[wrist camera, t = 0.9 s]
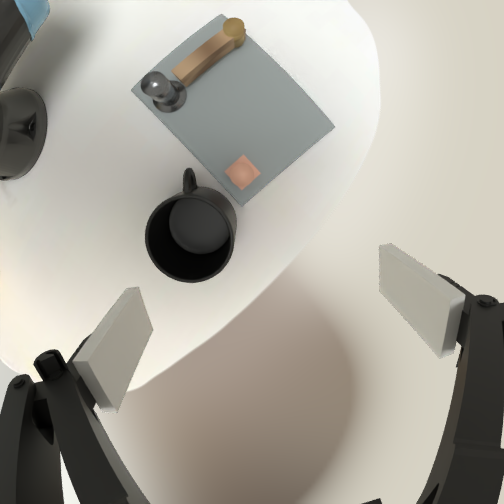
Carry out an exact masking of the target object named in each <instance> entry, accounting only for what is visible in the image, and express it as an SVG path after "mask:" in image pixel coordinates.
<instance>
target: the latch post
mask: <svg viewBox="0 0 504 504" xmlns="http://www.w3.org/2000/svg"><path fill="white" fill-rule="evenodd" d="M224 172H225V173H226V174H227V175H228V176H229V177H230V179H231V181H232V182H233V183H234V184H235V185H236V186H238V187H239V188H240V189H241V190H243V189H244V188H245V187H246V186H247V185H249V184H250V183H251V182H252V181H253V180H254V179H255V178H256V177H257V176H258V175H260V174H261V173H260V172H259V171H258V170H257V168H256V167H255V166H254V165H253V164H252V163H251V162H250V161H249V160H248V159H247V158H246V156H245V155H244V154H243V155H242V156H241V157H240V158H239V159H238V160H237V161H235V162H234V163H233V164H232V165H231V166H230V167H229V168H228V169H227V170H225V171H224Z"/></svg>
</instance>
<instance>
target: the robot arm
mask: <svg viewBox="0 0 504 504" xmlns="http://www.w3.org/2000/svg"><path fill="white" fill-rule="evenodd" d="M49 11H50V5H49V2H48V0H0V90H1V88H2V87H3V85H4V83H5V81H6V79H7V78H8V76H9V74H10V73H11V71H12V69H13V68H14V66H15V64H16V63H17V61H18V60H19V58H20V56H21V55H22V53H23V52H24V50H25V49H26V47H27V46H28V44H29V43H30V42H31V41H32V40H33V39H34V37H35V34H36V32H37V31H38V29H39V28H40V26H41V25H42V24H43V22H44V21H45V19H46V18H47V16H48V14H49ZM46 129H47V115H46V109H45V105H44V103H43V100H42V99H41V97H40V96H39V95H38V94H37V93H36V92H35V91H33V90H30V89H26V88H13V89H10V90H7V91H3V92H0V180H3V181H7V180H12V179H17V178H20V177H22V176H23V175H25V174H26V173H27V172H28V171H29V170H30V169H31V168H32V167H33V165H34V164H35V162H36V161H37V159H38V157H39V155H40V153H41V150H42V147H43V144H44V141H45V136H46ZM379 265H380V266H379V268H380V270H379V272H380V275H379V280H380V281H379V285H380V286H379V291H380V292H381V294H382V295H383V296H384V297H385V298H386V299H387V300H388V301H389V302H390V303H391V304H392V305H393V306H394V308H395V309H396V310H397V311H398V312H399V313H400V314H401V315H402V316H403V317H404V318H405V320H406V321H407V322H408V323H409V324H410V325H411V326H412V328H413V329H414V330H415V331H416V332H417V333H418V334H419V335H420V337H421V338H422V339H423V340H424V341H425V342H426V343H427V345H428V346H429V347H430V348H431V349H432V351H433V352H434V353H435V354H436V355H437V356H438V358H439V359H441V358H443V357H446V356H448V355H451V354H453V353H454V350H455V346H456V341H457V342H458V343H459V344H460V345H461V350H460V354H459V358H458V361H457V365H456V367H458V369H457V374H456V380H455V386H454V391H453V396H452V400H451V405H450V410H449V413H448V417H447V421H446V425H445V429H444V433H443V436H442V440H441V443H440V446H439V449H438V452H437V456H436V459H435V461H434V464H433V467H432V470H431V473H430V475H429V478H428V481H427V483H426V486H425V488H424V490H423V492H422V494H421V496H420V498H419V499H418V501H417V503H416V504H497V503H498V499H499V495H500V490H501V486H502V481H503V476H504V449H502V448H501V446H500V445H501V436H502V427H503V416H504V303H499V302H498V300H497V299H495V298H494V297H492V296H489V295H477V296H474V295H473V294H471V293H470V292H468V291H467V290H466V289H464V288H463V287H462V286H460V285H459V284H457V283H455V281H453V280H452V279H450V278H449V277H446V276H444V275H441V274H436V273H434V272H433V271H432V270H430V269H429V268H427V267H426V266H424V265H423V264H422V263H420V262H418V261H417V260H416V259H414V258H413V257H411V256H410V255H408V254H406V253H405V252H404V251H402V250H401V249H399V248H398V247H396V246H394V245H393V244H385V245H380V246H379ZM152 331H153V327H152V325H151V322H150V319H149V316H148V314H147V311H146V308H145V305H144V302H143V299H142V296H141V293H140V290H139V287H134V288H127V289H126V290H125V291H124V292H123V294H122V295H121V296H120V297H119V299H118V300H117V301H116V303H115V304H114V305H113V306H112V308H111V309H110V310H109V312H108V313H107V314H106V316H105V317H104V318H103V320H102V321H101V322H100V324H99V325H98V326H97V328H96V329H95V330H94V332H93V333H92V334H90V335H89V336H88V337H86V338H85V339H84V340H83V341H82V343H81V344H80V345H79V347H78V348H77V350H76V351H75V352H74V354H73V355H72V356H71V358H70V359H69V361H68V362H67V363H65V361H64V359H63V357H62V355H61V353H60V352H59V351H58V350H55V349H54V350H48V351H45V352H44V353H42V354H40V355H39V356H38V357H37V358H36V359H35V361H34V366H35V368H36V370H37V371H38V373H39V375H40V376H41V378H42V380H43V381H42V382H37V383H34V382H33V381H32V379H31V378H30V376H29V375H27V374H23V375H19V376H16V377H15V378H14V379H12V381H11V382H10V384H9V385H8V388H7V391H6V395H5V399H4V402H3V406H2V410H1V414H0V504H64V499H63V490H62V479H61V462H60V451H61V454H62V457H63V460H64V463H65V466H66V469H67V471H68V475H69V477H70V480H71V482H72V485H73V487H74V490H75V492H76V495H77V497H78V499H79V502H80V504H150V503H149V501H148V500H147V499H146V497H145V496H144V494H143V493H142V492H141V490H140V488H139V487H138V485H137V484H136V483H135V481H134V479H133V478H132V476H131V475H130V473H129V472H128V470H127V468H126V467H125V465H124V464H123V462H122V461H121V459H120V457H119V455H118V454H117V452H116V450H115V448H114V446H113V445H112V443H111V441H110V439H109V437H108V435H107V433H106V432H105V430H104V428H103V426H102V424H101V422H100V420H99V418H98V416H97V414H96V412H95V411H94V409H93V408H94V406H95V403H97V404H98V406H99V408H100V409H101V411H102V412H109V413H118V410H119V407H120V405H121V403H122V400H123V398H124V395H125V393H126V391H127V388H128V386H129V384H130V381H131V379H132V377H133V374H134V372H135V370H136V367H137V365H138V363H139V360H140V358H141V356H142V354H143V351H144V349H145V347H146V345H147V342H148V340H149V338H150V336H151V334H152ZM363 504H382V502H381V500H380V498H379V499H376V500H372V501H369V502H366V503H363Z"/></svg>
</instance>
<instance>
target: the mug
mask: <svg viewBox="0 0 504 504" xmlns="http://www.w3.org/2000/svg"><path fill="white" fill-rule="evenodd" d="M235 233H236V215H235V212H234V209H233V207H232V205H231V203H230V202H229V201H228V199H227V198H226V197H225V196H223V195H222V194H221V193H219V192H218V191H216V190H213V189H211V188H206V187H197V185H196V179H195V174H194V172H193V170H192V168H187V169H186V170H185V171H184V175H183V191H182V192H180V193H178V194H176V195H174V196H172V197H171V198H169V199H167V200H165V201H164V202H162V203H161V204H160V205H158V206H157V208H156V209H155V210H154V211H153V213H152V214H151V216H150V218H149V220H148V222H147V226H146V230H145V244H146V248H147V251H148V254H149V256H150V258H151V260H152V262H153V263H154V264H155V266H156V267H157V268H158V269H159V270H160V271H161V272H162V273H164V274H165V275H167V276H168V277H170V278H172V279H174V280H177V281H180V282H186V283H196V282H202V281H205V280H208V279H210V278H212V277H214V276H216V275H217V274H218V273H220V272H221V271H222V270H223V269H224V267H225V266H226V265H227V264H228V262H229V260H230V258H231V255H232V252H233V248H234V241H235Z"/></svg>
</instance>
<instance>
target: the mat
mask: <svg viewBox="0 0 504 504" xmlns="http://www.w3.org/2000/svg"><path fill="white" fill-rule="evenodd" d="M227 19H228V18H226V17H225V16H224V15H223V14H220V15H219V16H217V17H216V18H215V19H213V20H212V21H210V22H209V23H208V24H206V25H205V26H204V27H202V28H201V29H200V30H198V31H197V32H196V33H194V34H193V35H192V36H190V37H189V38H188V39H187V40H185V41H184V42H183V43H182V44H181V45H179V46H178V47H177V48H176V49H175V50H173V51H172V52H171V53H170V54H169V55H167V56H166V57H165V58H164V59H163V60H162V61H161V62H160V63H158V64H157V65H156V66H155V67H154V68H153V69H152V70H151V71H150V72H152V71H158V72H161V73H162V74H163V75H164V76H165V77H166V78H167V79H168V80H175V81H178V82H180V81H179V80H178V79H177V78H176V76H175V75H174V74H173V73H172V72H171V70H172V69H173V68H175V67H176V66H177V65H178V64H179V63H180V62H181V61H183V60H184V59H185V58H186V57H187V56H189V55H190V54H191V53H192V52H193V51H195V50H196V49H197V48H198V47H200V46H201V45H202V44H204V43H205V42H206V41H207V40H209V39H210V38H211V37H213V36H214V35H215V34H217V33H218V32H219V31H221V30H222V29H223V23H224V22H225V21H226V20H227ZM142 79H143V78H142ZM142 79H141V80H140V81H139V82H138V83H137V84H136V85H135V86H134V87H133V88H132V89H131V91H132V92H133V93H134V94H135V95H136V96H137V97H138V98H139V99H140V100H141V101H142V102H143V103H144V104H145V105H146V106H147V107H148V108H149V109H150V110H151V111H152V112H153V113H154V114H155V115H156V116H157V117H158V119H159V120H160V121H161V122H162V123H163V124H164V125H165V126H166V127H167V128H168V129H169V130H170V131H171V132H172V133H173V134H174V135H175V136H176V137H177V138H178V139H179V140H180V141H181V142H182V143H183V144H184V146H185V147H186V148H187V149H188V150H189V151H190V152H191V153H192V154H193V155H194V156H195V157H196V158H197V159H198V160H199V161H200V162H201V163H202V164H203V166H204V167H205V168H206V169H207V170H208V171H209V172H210V173H211V174H212V175H213V176H214V177H215V178H216V179H217V180H218V182H219V183H220V184H221V185H222V186H223V187H224V188H225V189H226V190H227V191H228V192H229V193H230V194H231V195H232V197H233V198H234V199H235V200H236V201H237V202H238V203H239V204H240V205H241V206H243V205H244V204H246V203H247V202H248V201H249V200H250V199H251V198H252V197H254V196H255V195H256V194H257V193H258V192H259V191H260V190H261V189H263V188H264V187H265V186H266V185H267V184H268V183H269V182H271V181H272V180H273V179H274V178H275V177H276V176H278V175H279V174H280V173H281V172H282V171H283V170H285V169H286V168H287V167H288V166H289V165H290V164H292V163H293V162H294V161H295V160H296V159H297V158H299V157H300V156H301V155H302V154H303V153H304V152H306V151H307V150H308V149H309V148H310V147H312V146H313V145H314V144H315V143H316V142H318V141H319V140H320V139H321V138H322V137H324V136H325V135H326V134H327V133H328V132H330V131H331V130H332V129H333V128H335V126H334V125H333V123H332V122H331V121H330V120H329V119H328V117H327V116H326V115H325V114H324V113H323V112H322V110H321V109H320V108H319V107H318V106H317V105H316V104H315V103H314V101H313V100H312V99H311V98H310V97H309V96H308V95H307V94H306V93H305V91H304V90H303V89H302V88H301V87H300V86H299V85H298V84H297V83H296V82H295V81H294V80H293V79H292V78H291V77H290V76H289V75H288V74H287V73H286V72H285V71H284V70H283V69H282V68H281V67H280V66H279V65H278V64H277V63H276V62H275V61H274V60H273V59H272V58H271V57H270V56H269V55H268V54H267V53H266V52H265V51H264V50H263V49H262V48H261V47H260V46H259V45H257V44H256V43H255V42H254V41H253V40H252V39H251V38H250V37H249V36H248V35H246V40H245V41H244V43H243V44H242V45H241V46H240V47H237V48H234V49H233V50H231V51H230V52H229V53H227V54H226V55H225V56H223V57H222V58H221V59H220V60H218V61H217V62H216V63H214V64H213V65H212V66H211V67H210V68H208V69H207V70H206V71H205V72H203V73H202V74H201V75H200V76H199V77H198V78H196V79H195V80H194V81H193V82H192V83H191V84H189V85H188V86H187V87H186V86H185V85H184V84H183V83H182V82H180V83H181V84H182V85H183V86H184V87H185V89H186V92H187V99H186V102H185V104H184V105H183V106H182V107H181V108H180V109H179V110H178V111H176V112H172V113H164V112H162V111H160V110H158V109H157V108H156V107H155V105H154V103H153V98H151V97H149V96H148V95H146V94H145V93H143V92H142V90H141V81H142ZM243 154H244V155H245V156H246V158H247V159H248V160H249V161H250V162H251V163H252V164H253V165H254V166H255V167H256V168H257V170H258V171H259V172H260V173H261V174H260V175H258V176H257V177H256V178H255V179H254V180H253V181H252V182H251V183H250V184H249V185H247V186H246V187H245V188H244V189H243V190H241V189H240V188H239V187H238V186H236V185H235V184H234V183H233V182H232V181H231V179H230V177H229V176H228V175H227V174H226V173H225V172H224V171H225V170H227V169H228V168H229V167H230V166H231V165H232V164H233V163H234V162H235V161H237V160H238V159H239V158H240V157H241V156H242V155H243Z"/></svg>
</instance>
